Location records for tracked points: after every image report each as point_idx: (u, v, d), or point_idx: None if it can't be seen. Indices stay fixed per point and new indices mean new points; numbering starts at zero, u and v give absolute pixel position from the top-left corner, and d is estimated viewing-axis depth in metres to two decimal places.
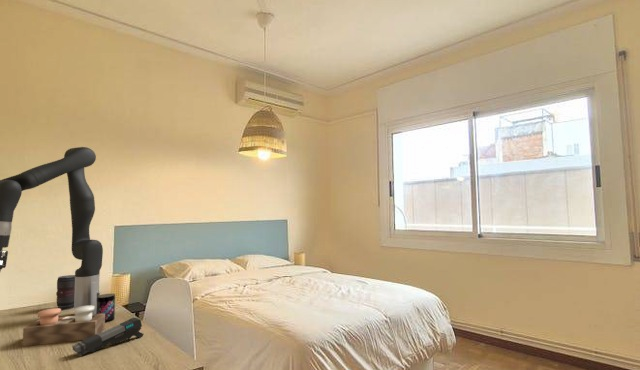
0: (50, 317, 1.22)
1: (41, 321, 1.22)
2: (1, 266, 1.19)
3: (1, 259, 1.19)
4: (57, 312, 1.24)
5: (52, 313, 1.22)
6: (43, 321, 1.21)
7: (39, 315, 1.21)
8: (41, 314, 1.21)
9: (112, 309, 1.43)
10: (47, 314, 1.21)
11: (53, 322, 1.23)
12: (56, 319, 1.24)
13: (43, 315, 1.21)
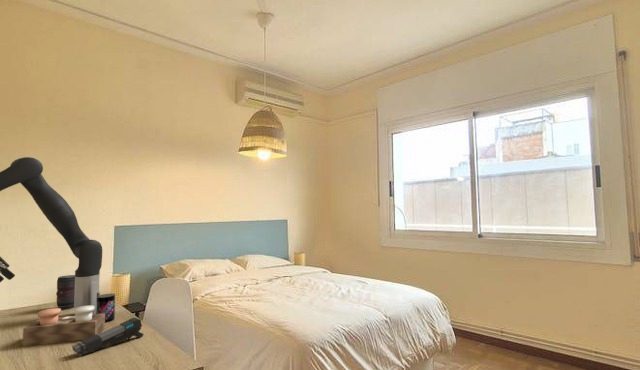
0: (50, 317, 1.22)
1: (41, 321, 1.22)
2: None
3: None
4: (57, 312, 1.24)
5: (52, 313, 1.22)
6: (43, 321, 1.21)
7: (39, 315, 1.21)
8: (41, 314, 1.21)
9: (112, 309, 1.43)
10: (47, 314, 1.21)
11: (53, 322, 1.23)
12: (56, 319, 1.24)
13: (43, 315, 1.21)
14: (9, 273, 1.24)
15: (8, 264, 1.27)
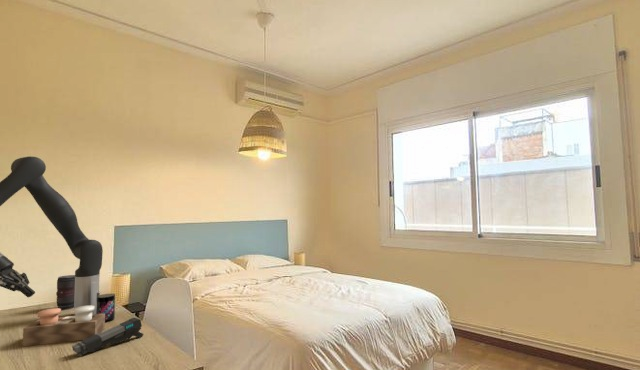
0: (50, 317, 1.22)
1: (41, 321, 1.22)
2: (15, 288, 1.20)
3: (8, 286, 1.18)
4: (57, 312, 1.24)
5: (52, 313, 1.22)
6: (43, 321, 1.21)
7: (39, 315, 1.21)
8: (41, 314, 1.21)
9: (112, 309, 1.43)
10: (47, 314, 1.21)
11: (53, 322, 1.23)
12: (56, 319, 1.24)
13: (43, 315, 1.21)
14: None
15: None
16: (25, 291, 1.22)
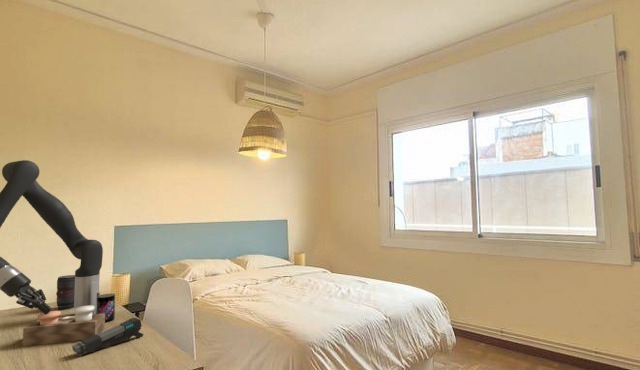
0: (50, 320, 1.22)
1: (41, 324, 1.22)
2: (33, 305, 1.20)
3: (27, 304, 1.19)
4: (57, 315, 1.24)
5: (52, 316, 1.22)
6: (43, 324, 1.21)
7: (39, 318, 1.21)
8: (41, 317, 1.21)
9: (112, 309, 1.43)
10: (47, 317, 1.21)
11: None
12: (56, 322, 1.24)
13: (43, 318, 1.21)
14: None
15: (45, 298, 1.27)
16: (42, 308, 1.23)
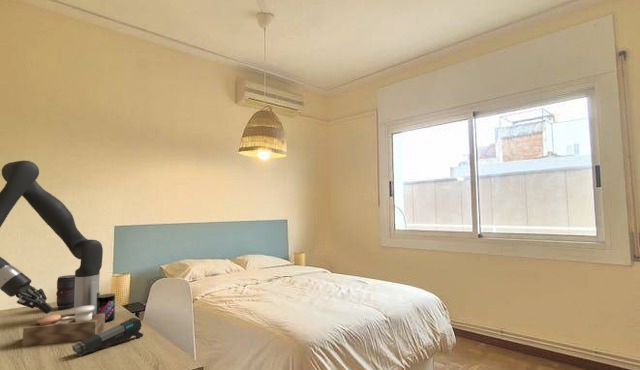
0: None
1: None
2: (34, 305, 1.21)
3: (27, 304, 1.19)
4: (57, 319, 1.24)
5: (52, 320, 1.22)
6: None
7: (39, 322, 1.21)
8: (41, 321, 1.21)
9: (112, 309, 1.43)
10: (47, 321, 1.21)
11: None
12: None
13: (43, 322, 1.21)
14: None
15: None
16: (43, 308, 1.23)
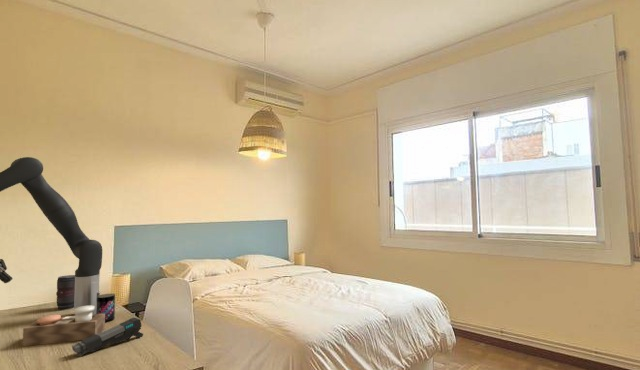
0: None
1: None
2: None
3: None
4: (57, 319, 1.24)
5: (52, 320, 1.22)
6: None
7: (39, 322, 1.21)
8: (41, 321, 1.21)
9: (112, 309, 1.43)
10: (47, 321, 1.21)
11: None
12: None
13: (43, 322, 1.21)
14: None
15: (6, 267, 1.24)
16: (2, 277, 1.20)
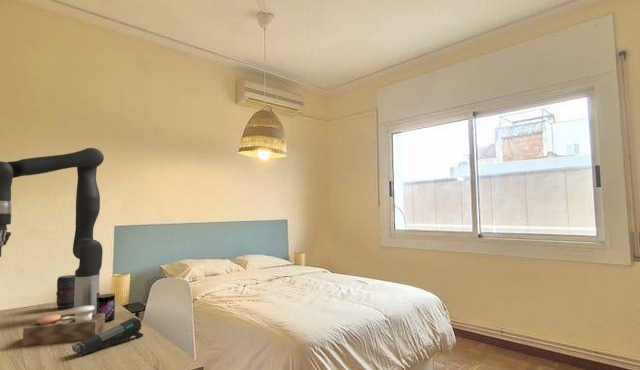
0: None
1: None
2: None
3: None
4: (57, 319, 1.24)
5: (52, 320, 1.22)
6: None
7: (39, 322, 1.21)
8: (41, 321, 1.21)
9: (112, 309, 1.43)
10: (47, 321, 1.21)
11: None
12: None
13: (43, 322, 1.21)
14: None
15: None
16: None
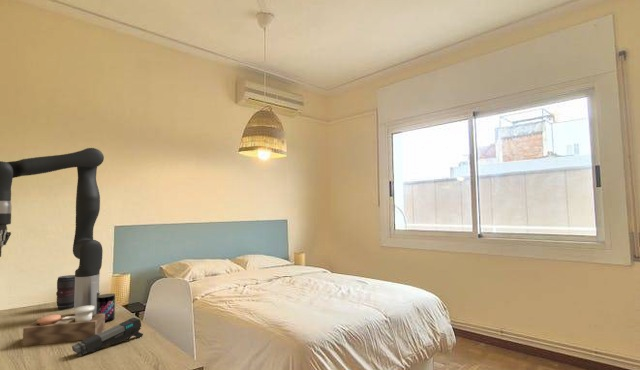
0: None
1: None
2: None
3: None
4: (57, 319, 1.24)
5: (52, 320, 1.22)
6: None
7: (39, 322, 1.21)
8: (41, 321, 1.21)
9: (112, 309, 1.43)
10: (47, 321, 1.21)
11: None
12: None
13: (43, 322, 1.21)
14: None
15: None
16: None
